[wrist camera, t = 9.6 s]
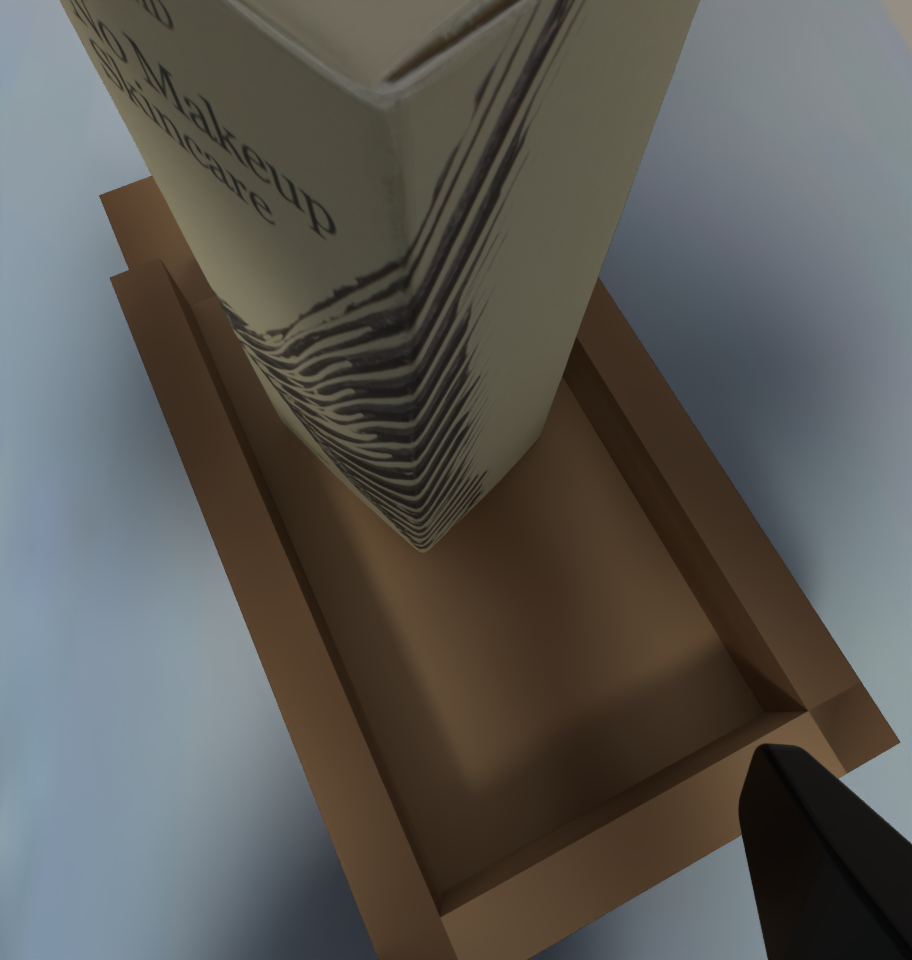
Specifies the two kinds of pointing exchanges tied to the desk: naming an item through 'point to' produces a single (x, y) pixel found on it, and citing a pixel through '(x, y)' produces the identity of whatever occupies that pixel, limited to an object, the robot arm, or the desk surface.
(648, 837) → the tray
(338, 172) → the box
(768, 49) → the desk surface
